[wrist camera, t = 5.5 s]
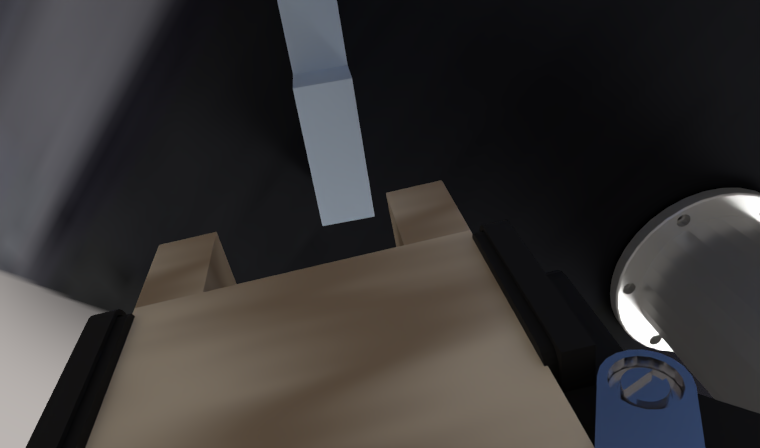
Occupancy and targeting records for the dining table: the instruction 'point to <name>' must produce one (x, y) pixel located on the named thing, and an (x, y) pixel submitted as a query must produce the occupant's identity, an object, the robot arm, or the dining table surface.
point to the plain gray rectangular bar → (327, 109)
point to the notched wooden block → (335, 351)
